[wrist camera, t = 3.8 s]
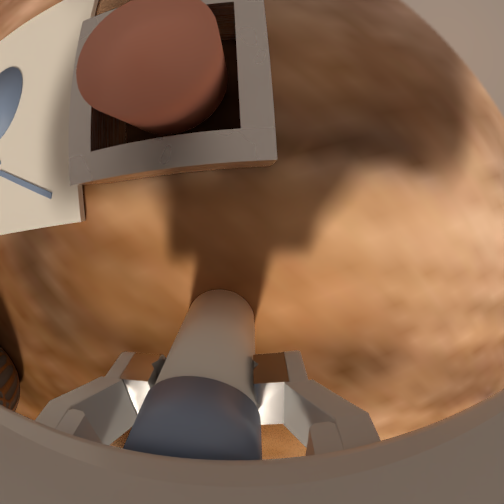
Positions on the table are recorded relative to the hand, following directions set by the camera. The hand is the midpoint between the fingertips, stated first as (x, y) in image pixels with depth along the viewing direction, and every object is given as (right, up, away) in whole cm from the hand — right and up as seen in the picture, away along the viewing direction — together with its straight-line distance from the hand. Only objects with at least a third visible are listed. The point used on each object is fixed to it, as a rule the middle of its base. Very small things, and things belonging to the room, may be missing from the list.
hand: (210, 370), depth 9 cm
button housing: (-2, +10, +1) cm, 11 cm away
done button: (-2, +10, 0) cm, 10 cm away
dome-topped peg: (0, +1, +4) cm, 4 cm away
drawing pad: (-14, +12, +1) cm, 18 cm away
